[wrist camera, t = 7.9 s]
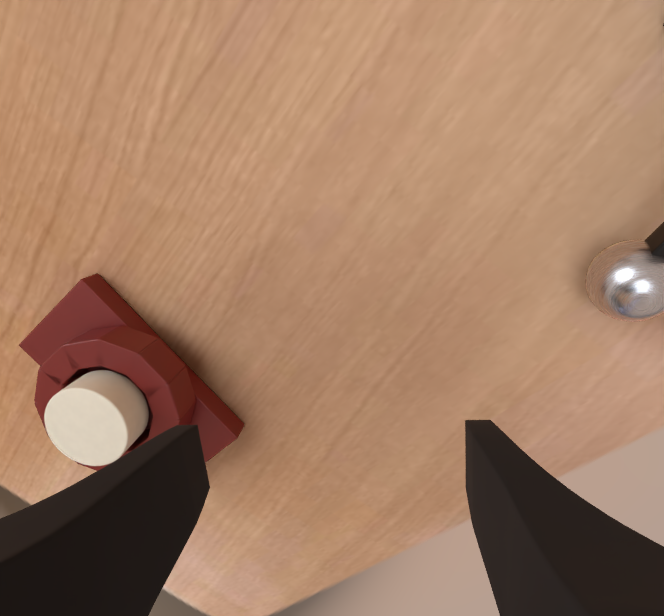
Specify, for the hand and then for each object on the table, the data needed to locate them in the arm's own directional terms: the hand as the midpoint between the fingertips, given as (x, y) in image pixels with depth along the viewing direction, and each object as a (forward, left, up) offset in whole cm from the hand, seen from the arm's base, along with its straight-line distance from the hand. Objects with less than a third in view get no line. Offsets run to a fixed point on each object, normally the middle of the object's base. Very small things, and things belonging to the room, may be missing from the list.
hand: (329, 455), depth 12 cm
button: (+5, +10, -6) cm, 13 cm away
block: (+5, +10, -9) cm, 14 cm away
